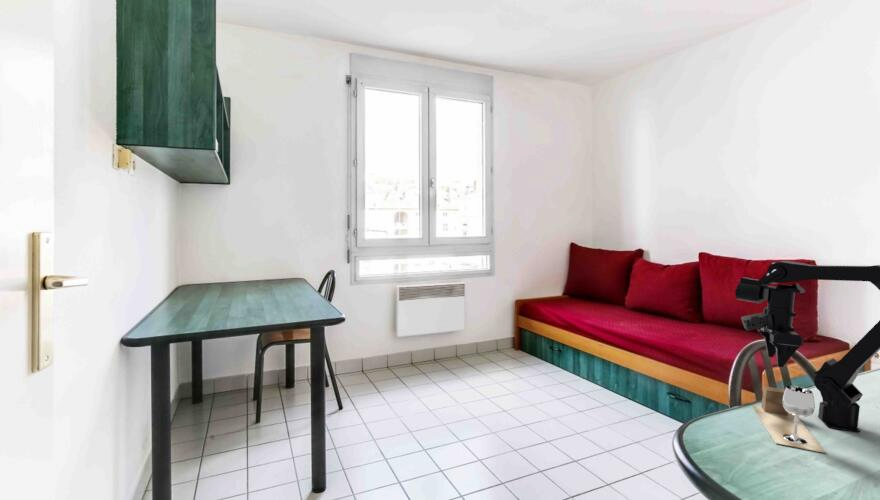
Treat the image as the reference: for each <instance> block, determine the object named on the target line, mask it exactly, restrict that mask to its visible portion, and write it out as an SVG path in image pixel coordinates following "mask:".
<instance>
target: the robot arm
mask: <svg viewBox="0 0 880 500" xmlns="http://www.w3.org/2000/svg"><path fill="white" fill-rule="evenodd" d="M739 279H740V280H739V282H737V286H736V288H735V298H736V300H738V301H744V302H749V303H757V304H762V303H763V302H764V301H767V306H766V307H765V306H764V308H763V312H760V313H759V312H758V313H753V314H748V315H743V316H741V317H740V319H741V322H742V325H743V328H744V329H745V330H746V331H747V332H749V331H754V330H757V332H759V333H760V335H762V336H763V338H764V342H765V347H766V351H767V352H766V353H767V357H769V358H773V357H774V356H775V355H776V356H775V357H776V362H777V363H776V365H777V366H778V368H783V367H784V366H785V365H786V364H787V362H789V360H790V359H791V357H792V356H793V355H794V354H795V353H796V352H797V350H798V349H800V348H801V347H803V345H804V338H803V337H802V336H801V335H800V334H798V333H797V331H796V332H795V327H793V318H796V312H794V309H795V308H794V306H795V296H796V294H802V293H805V292H806V290H805V289H804V288H803V287H802V286H801V285H800V284H799V283H798V282H801V281H810V280H816V281H817V280H820V281H844V282H845V281H847V282H870V283H871V284H872V285H874V286H875V288H877V289H878V290H879V291H880V264H876V265H875V264H874V265H818V264H817V265H816V264H815V265H814V264H808V263H803V262H798V261H791V260H790V261H789V260H783V261H776V262H772V263H771V264H770V265H769V266H768V267H767V269H766V273H765V274H764V275H762V276H761V277H760V278H759V279H756V278H751V277H745V276H744V277H740V278H739ZM792 282H795V283H793V284H792V285H791V284H790V285H789V284H784V283H792ZM796 282H797V283H796ZM775 284H778V285H777V286H773V285H775ZM879 351H880V320H878V321H877V322H876V323H875V325H873V327H872V328H871V329H869V331H868V332H866V334H865V335H863V336H862V338H860V339H859V341H858V342H857V343H855V345H854V346H852V348H850V350H849V351H848V352H847V353H845V355H844V356H843V357H841V359H839V360H836V359H835V358H831V359H828V360H826V361H825V362H823V364H822V365H821V367H820V368H819V369H818V370H815V371H814V372H813V374H814V375H815V376H814V377H813V380H812V381H813V383H814V386H815V388H816V389H817V390H818V391H819V393H820V395H821V399H822V401H820V402H819V406H818V408H819V409H818V415H817V418H818V419H819V420H821V421H822V423H823V424H824V425H825V427H827V428H832V429H837V430H844V431H850V432H855V433H862V430H861V429H860V428H859V427H858V426H859V418H860V409H861V406H860V405H859V404H858V403H857V402H859V401H860V400H861V398H862V397H863V395H864V394H863V393H862V392H861V391H860V390H859V388H857V387H856V385H854V382H855V380H856V379H857V376H858V375H859V373H860V370H861V369H862V368H863V367H864V366H865V365H866V363H868V362H869V361H870V360H871V359H872V358H873V357H874V356H875V355H876V354H877V353H878V352H879Z"/></svg>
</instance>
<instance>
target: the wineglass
mask: <svg viewBox="0 0 880 500" xmlns="http://www.w3.org/2000/svg"><path fill="white" fill-rule="evenodd" d="M782 404H783V407H784V409H785V410H786V411H787V412H788V413H790V414H791V415H793V416H795V418H794V424H795V429H794V433H793V435H791V434H784V435H783V438H784V439H786V440H788V441H790V442H793V443H797V444H807V441H806V440H805V439H803V438H801V437H799V436H797V426H798V423H799V420H800V418H808V417H811V416H812V415H813V414H814V411H815V397H814V393H813V391H812V390H811V389H809V388H805V387H802V386H797V385H786V387H785V392H784V395H783V399H782Z"/></svg>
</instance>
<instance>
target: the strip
mask: <svg viewBox="0 0 880 500" xmlns="http://www.w3.org/2000/svg"><path fill="white" fill-rule="evenodd" d="M785 389H786V388H785ZM785 389H784V388H778V387H771V386H765V385H763V389H762V390H763V391H762V399H761V400H762V401H761V406H759V405H752V408H753V410H754V411H755V413H756V414H757V417H759V419H760V421H761V422H762V424H763V425H764V427H765V428H766V430H767V431H768V433H769V435H770V437H771V438H772V440H773V441H774V442H775V444H776V445H781V446H786V447H791V448H796V449H802V450H807V451H812V452H818V453H823V454H827V452H826V450H825V449H824V447H822V445H820V443H819V442H818V441H817V440H816V438H815V437H814V436H813V434H812V433H811V432H810V431H809V430H808V429H807V428H806V426H805V425H804V423H803V422H802V421H801V420H800V419H799V423H798V426H797V436H799V437H801V438H803V439H805V440H806V441H807V444H797V443H793V442H790V441H788V440H786V439H784V438H783V435H784V434H791V435H793V433H794V429H795V424H794V418H795V416H793V415H791V414H790V413H788V412H787V411H786V410H785V409H784V407H783V404H782V399H783V395H784V392H785Z"/></svg>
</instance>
